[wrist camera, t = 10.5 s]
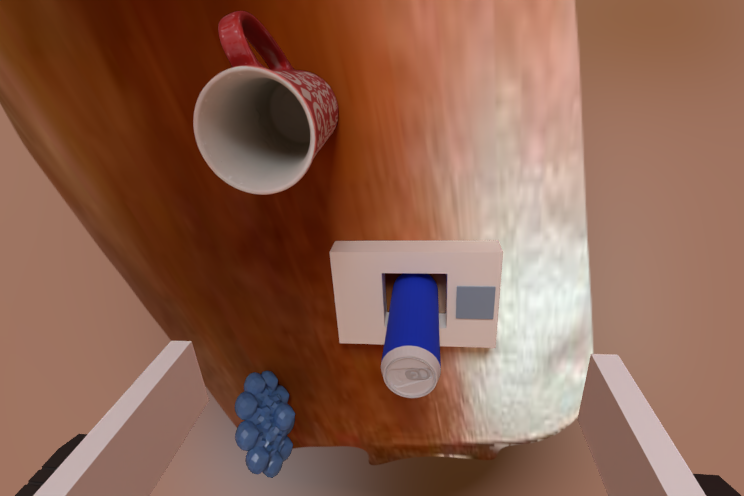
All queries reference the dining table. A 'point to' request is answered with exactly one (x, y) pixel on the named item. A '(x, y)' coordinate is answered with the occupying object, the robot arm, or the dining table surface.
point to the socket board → (451, 257)
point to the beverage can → (412, 337)
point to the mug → (261, 113)
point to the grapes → (264, 423)
